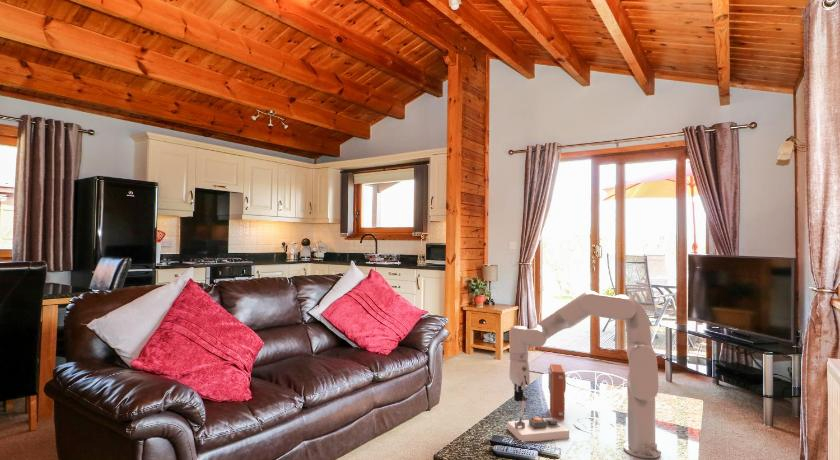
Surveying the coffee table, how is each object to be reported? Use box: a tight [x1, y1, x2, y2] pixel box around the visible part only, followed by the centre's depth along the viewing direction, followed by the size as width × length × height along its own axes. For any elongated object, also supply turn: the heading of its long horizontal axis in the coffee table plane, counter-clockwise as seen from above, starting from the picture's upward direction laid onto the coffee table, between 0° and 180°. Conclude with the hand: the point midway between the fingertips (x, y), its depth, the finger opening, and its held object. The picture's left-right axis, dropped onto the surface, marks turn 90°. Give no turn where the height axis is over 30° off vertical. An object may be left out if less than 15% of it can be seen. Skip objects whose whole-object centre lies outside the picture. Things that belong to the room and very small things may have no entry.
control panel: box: [547, 363, 567, 420], centre depth 216 cm, size 21×7×15 cm
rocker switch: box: [547, 419, 559, 424], centre depth 195 cm, size 4×3×1 cm
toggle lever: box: [517, 395, 528, 426], centre depth 190 cm, size 2×2×14 cm
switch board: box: [506, 416, 570, 443], centre depth 194 cm, size 14×21×6 cm, turn 103°
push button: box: [532, 416, 543, 422], centre depth 194 cm, size 4×4×2 cm
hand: (518, 400), depth 193 cm, fingers closed
